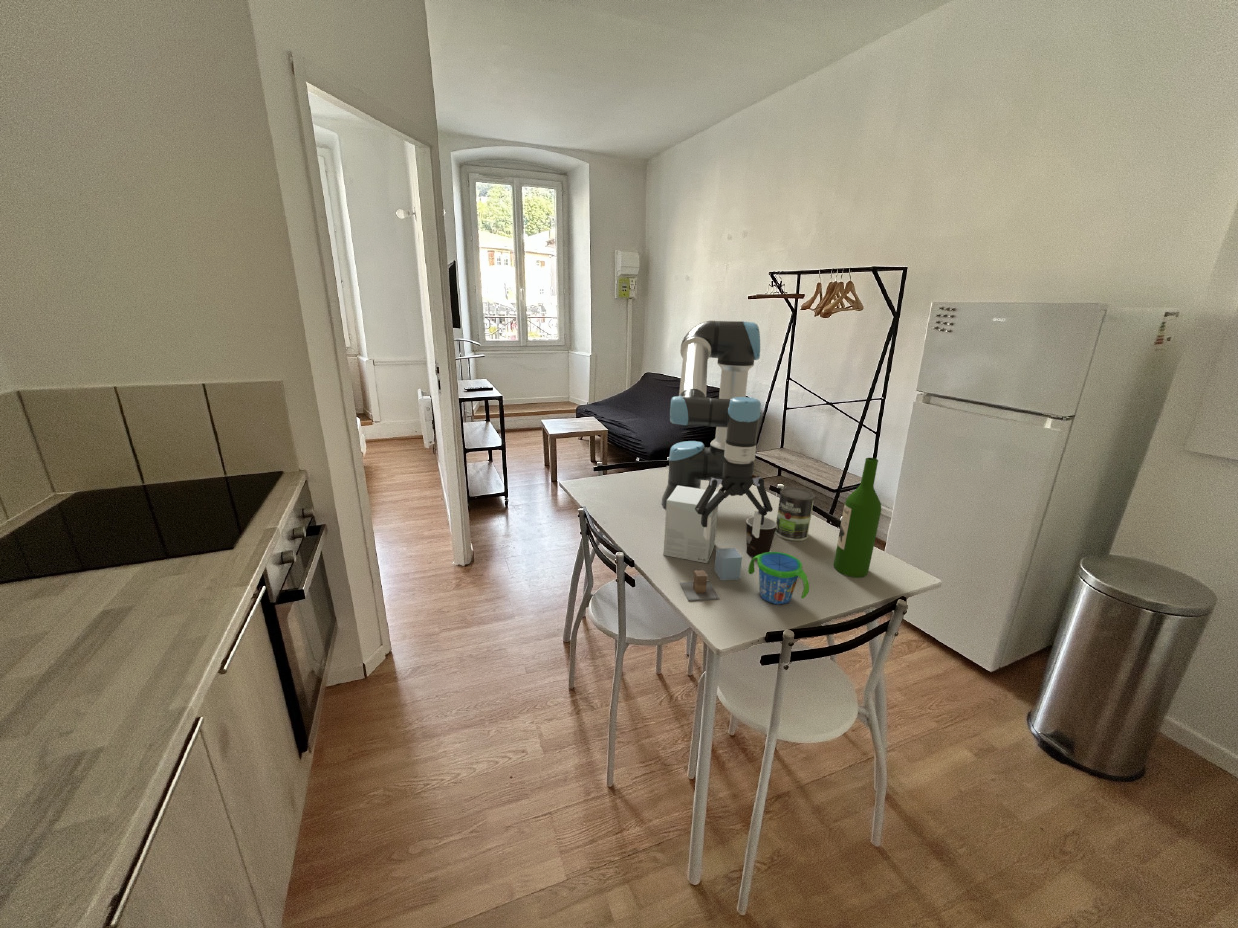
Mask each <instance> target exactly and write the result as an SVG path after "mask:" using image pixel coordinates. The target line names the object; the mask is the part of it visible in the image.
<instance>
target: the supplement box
mask: <svg viewBox="0 0 1238 928" xmlns="http://www.w3.org/2000/svg"><path fill="white" fill-rule="evenodd" d="M705 490H706V488H705V489H703V488H701V489H698V488H691V487H684V486H678V485H677V487H676V488H675V490H674V491H673V492H672V494H671V495H670V497H669V498H668V499H667V503H666V508H665V523H664V524H665V525H664V526H665V527H664V540H663V552H662V553H663V555H664V556H667V557H673V558H678V559H684V560H688V561H691V562H692V561H693V562H699V563H704V564H708V563H709V560H710V558H711V555H712V553H713V549H714V547H715V545H716V544H715V543H716V532H717V523H718V513H719V511H718V510H719V505H718V506H717V507H716V508H715V509H714V510H713V511H712V512H711V513H710V514H709V515H710V516H711V527H710V537H709V540H706V539H705V537H704V536H703V533H704V527H703V526H702V525H701V517H702V515H701V514H698V513H697V512H696V510H695V507H696V506H697V504H698V502H699V500H700V499H701V497H702V495H703V494H704V492H705ZM718 491H719V490H715V492H714V494H713V495H712V497H711V499H712V498H713V497H714V496H715V495H716V494H717V493H718ZM711 499H710V500H711ZM710 500H709V501H710Z"/></svg>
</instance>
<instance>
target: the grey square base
mask: <svg viewBox="0 0 1238 928" xmlns="http://www.w3.org/2000/svg"><path fill="white" fill-rule="evenodd" d="M679 585H680V586H681V589H682V591H683V594H684V596H685V597H686V600H687V602H695V601H697V602H698V601H711V600H715V601H716V600H720V596H719V594H718V592H717V591H716V590H715V588H714V586H713V585H712V583H711V581H710V580H708V574H707V573H706V572H705V570H702V569H701V570H694V571H693V580H692V581H683V582H681V581H680V582H679Z"/></svg>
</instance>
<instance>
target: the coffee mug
mask: <svg viewBox="0 0 1238 928" xmlns="http://www.w3.org/2000/svg"><path fill="white" fill-rule="evenodd" d="M753 521H754V516H749V517H747V518H746V520H745V522H746V523H745V526H746V529H745V530H746V541H745V542H746V543H745V544H746V554H747V555H748V556H749V557H751V558H754V557H755V556H757V555H759V554H763V553H766V552H771V549H772V545H773V540H774V536H775V534H776V533H775V531H776V527H777V523H776V521H775V520H774V519H771V518H768V517H765V516H764V523H763V525H760V532H759V538H756V537H755V536H754V535H753V534H752V529H753Z"/></svg>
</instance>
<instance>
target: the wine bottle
mask: <svg viewBox="0 0 1238 928" xmlns="http://www.w3.org/2000/svg"><path fill="white" fill-rule="evenodd" d="M878 463H879V460H878V458H874V457H866V458H865V460H864V465H863V471H862V475H861V480H860V484H859V486H857V488H856V489H854V491H853V492H852V493H851V494H849V495H848V496H847V497H846V499H845V502H844V505H843V510H842V511H843V512H842V515H841V517H842V518H841V522H840V527H839V533H838V537H837V538H838V539H837V545H836V548H835V549H836V550H835V555H834V560H833V567H834V569H835V570H836V572H838V573H840V574H841V575H844V576H847V577H852V578H865V577H866V576H867V575H868V574H869V569H870V567H871V566H870V565H871V561H872V558H873V557H872V556H873V551H874V547H875V543H876V538H877V537H876V536H877V534H878V533H877V532H878V527H879V523H880V519H881V514H882V502H881V500H880V498H879V497H878V496H879V495H877V492H876V490H875V487H874V485H875V480H876V475H877V470H878Z"/></svg>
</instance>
